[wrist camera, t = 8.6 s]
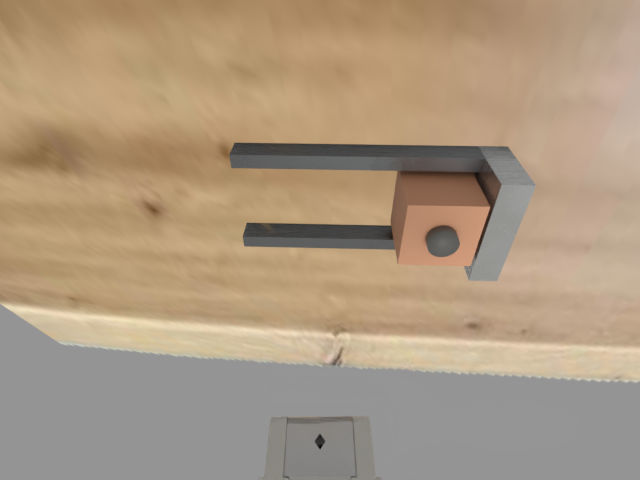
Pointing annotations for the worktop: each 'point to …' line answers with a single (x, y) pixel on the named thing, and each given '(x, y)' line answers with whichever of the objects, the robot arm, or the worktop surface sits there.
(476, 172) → the rail
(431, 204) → the block
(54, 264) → the worktop surface
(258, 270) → the worktop surface
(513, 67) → the worktop surface
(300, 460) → the robot arm
